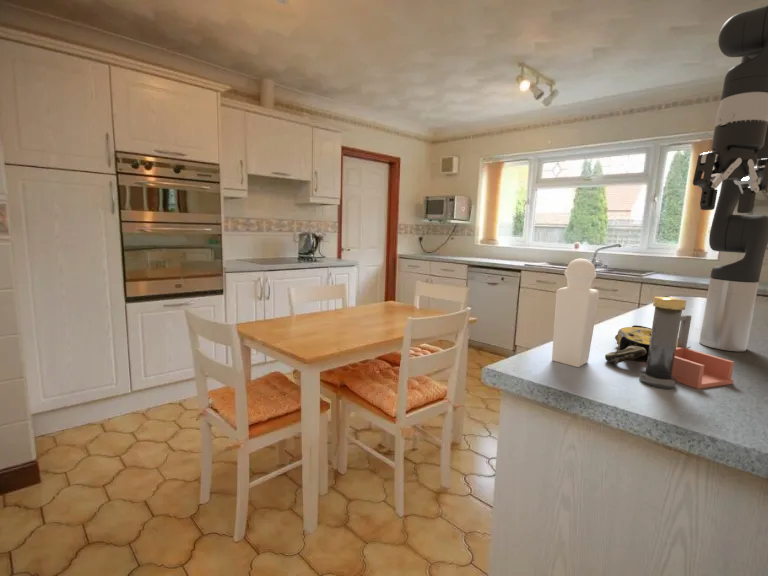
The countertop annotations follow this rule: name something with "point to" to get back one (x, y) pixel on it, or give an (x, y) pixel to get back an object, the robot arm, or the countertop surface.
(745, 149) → the robot arm
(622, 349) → the pulley block
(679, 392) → the countertop surface
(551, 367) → the countertop surface
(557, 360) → the white square bottle
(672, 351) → the tie-down post
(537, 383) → the countertop surface
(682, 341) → the keeper bracket
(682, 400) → the countertop surface
